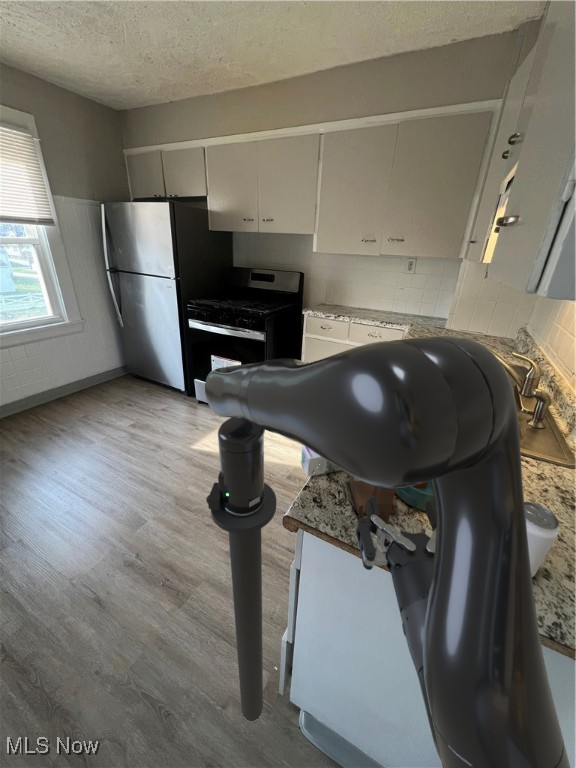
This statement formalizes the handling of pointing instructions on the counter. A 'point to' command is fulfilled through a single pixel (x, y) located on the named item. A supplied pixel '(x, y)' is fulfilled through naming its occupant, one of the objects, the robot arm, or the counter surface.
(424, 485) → the block
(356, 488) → the brown wooden holder
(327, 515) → the counter surface
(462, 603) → the robot arm
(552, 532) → the can
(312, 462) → the syrup box
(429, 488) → the teal pet bowl
